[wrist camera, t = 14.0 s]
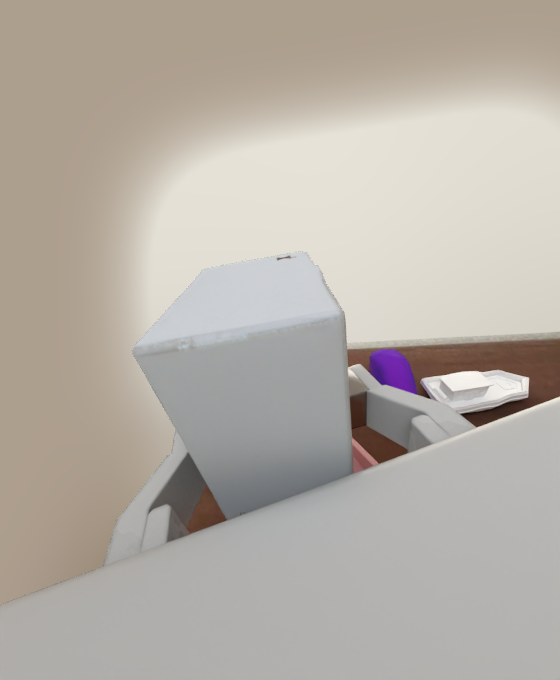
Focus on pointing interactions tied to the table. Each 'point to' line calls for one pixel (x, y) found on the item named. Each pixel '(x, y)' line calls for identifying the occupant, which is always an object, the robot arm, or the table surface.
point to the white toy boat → (476, 389)
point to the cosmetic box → (255, 379)
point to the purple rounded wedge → (392, 370)
